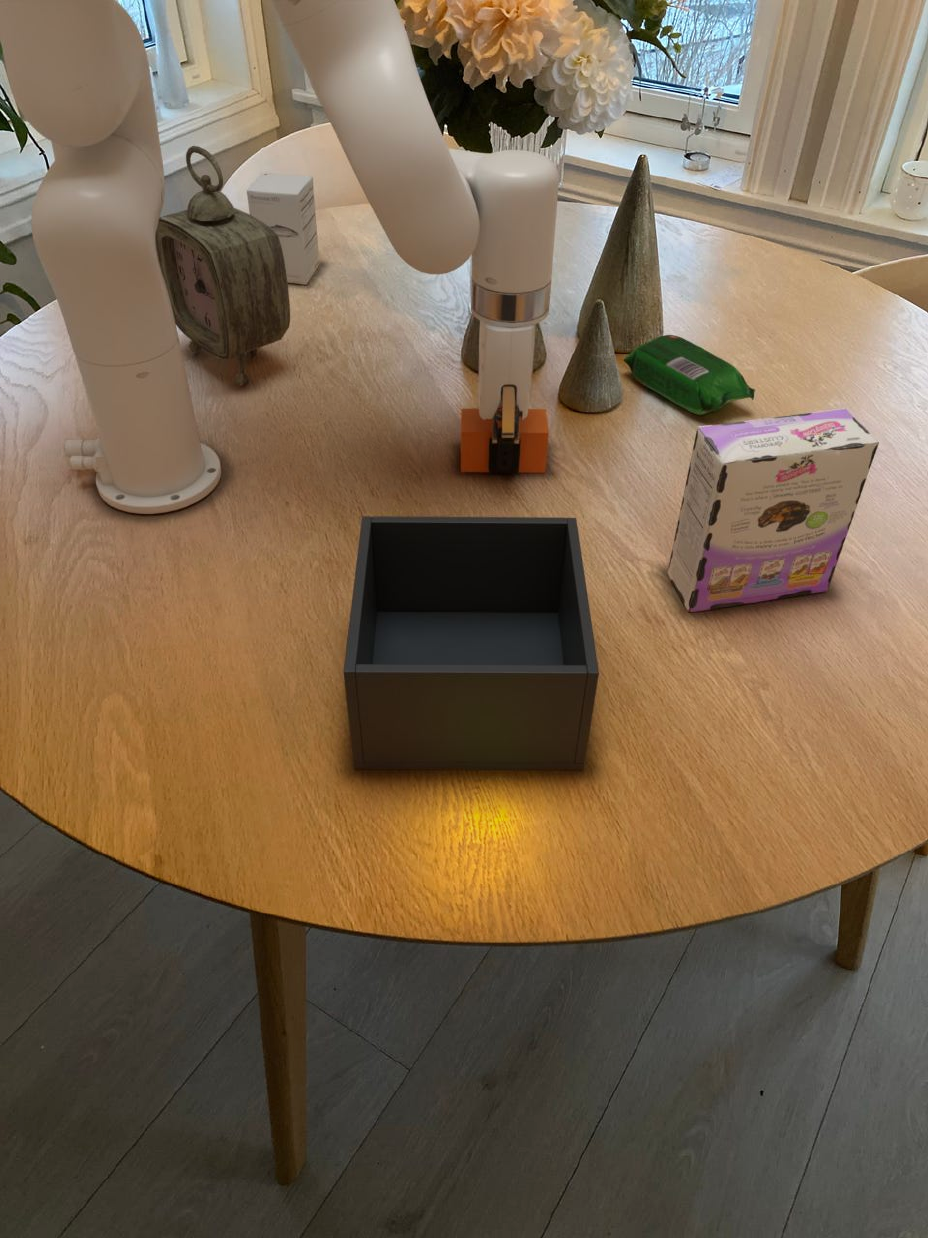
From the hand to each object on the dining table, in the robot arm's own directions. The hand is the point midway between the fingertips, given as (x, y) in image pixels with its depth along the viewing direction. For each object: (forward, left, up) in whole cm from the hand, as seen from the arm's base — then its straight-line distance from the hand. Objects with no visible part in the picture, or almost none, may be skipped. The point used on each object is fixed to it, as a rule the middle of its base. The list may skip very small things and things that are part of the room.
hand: (502, 455), depth 103 cm
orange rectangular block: (0, 0, -1) cm, 1 cm away
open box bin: (-4, -33, -1) cm, 33 cm away
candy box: (+22, -20, -1) cm, 30 cm away
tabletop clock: (-32, +21, -1) cm, 38 cm away
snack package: (+22, +14, -1) cm, 26 cm away
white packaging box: (-29, +47, -1) cm, 55 cm away
